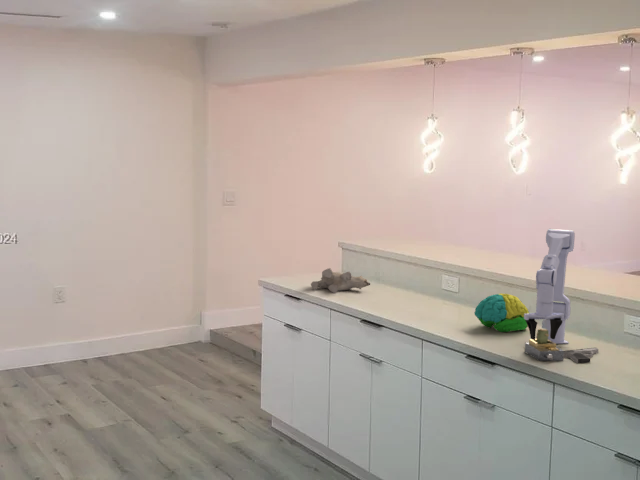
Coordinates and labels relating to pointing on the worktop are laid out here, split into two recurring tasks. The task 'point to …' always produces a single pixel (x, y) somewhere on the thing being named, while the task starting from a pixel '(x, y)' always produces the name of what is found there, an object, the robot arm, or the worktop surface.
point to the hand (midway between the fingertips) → (542, 338)
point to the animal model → (339, 281)
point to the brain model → (502, 312)
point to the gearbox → (544, 351)
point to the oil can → (542, 336)
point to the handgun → (580, 354)
